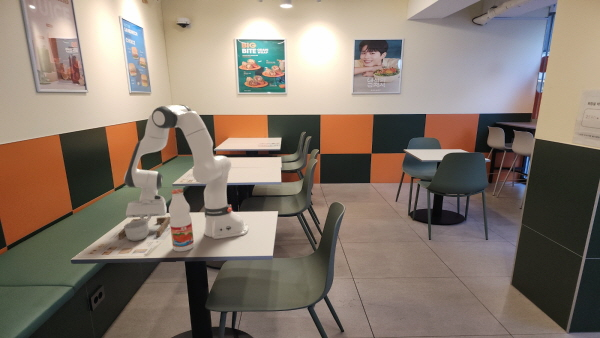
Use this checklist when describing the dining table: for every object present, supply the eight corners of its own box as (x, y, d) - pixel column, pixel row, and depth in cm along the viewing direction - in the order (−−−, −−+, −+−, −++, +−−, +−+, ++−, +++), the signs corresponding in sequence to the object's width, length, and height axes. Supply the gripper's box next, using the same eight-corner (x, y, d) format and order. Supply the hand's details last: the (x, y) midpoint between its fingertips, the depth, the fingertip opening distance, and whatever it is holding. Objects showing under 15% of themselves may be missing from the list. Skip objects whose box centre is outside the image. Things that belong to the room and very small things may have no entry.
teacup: (140, 243, 160) (138, 228, 158) (121, 242, 163) (118, 227, 161) (158, 232, 174) (156, 217, 172) (140, 230, 176) (137, 216, 174)
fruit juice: (192, 241, 161) (186, 186, 155) (196, 249, 153) (189, 191, 147) (171, 245, 157) (164, 189, 151) (174, 253, 149) (167, 194, 143)
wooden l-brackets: (170, 221, 188) (170, 216, 187) (160, 236, 168) (159, 230, 168) (134, 224, 186) (133, 219, 185) (119, 239, 166) (118, 233, 166)
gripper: (126, 198, 178) (121, 222, 171) (165, 196, 180) (162, 220, 173) (130, 203, 183) (126, 227, 176) (168, 201, 185) (165, 224, 178)
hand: (144, 223), depth 174 cm, fingers closed, pressing on teacup
